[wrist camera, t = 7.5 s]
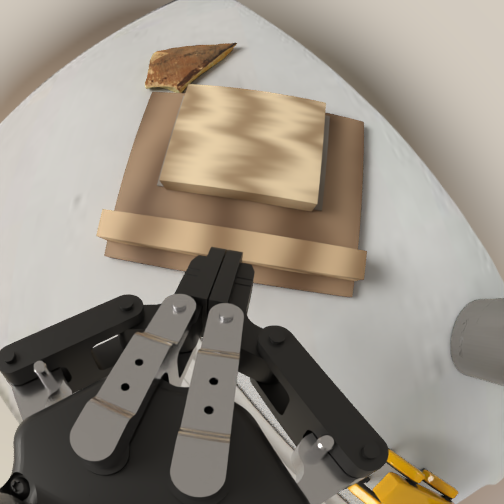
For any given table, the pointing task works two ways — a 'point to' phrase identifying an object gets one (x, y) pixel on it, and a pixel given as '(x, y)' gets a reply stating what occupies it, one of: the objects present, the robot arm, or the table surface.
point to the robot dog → (404, 486)
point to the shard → (183, 65)
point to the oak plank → (247, 146)
